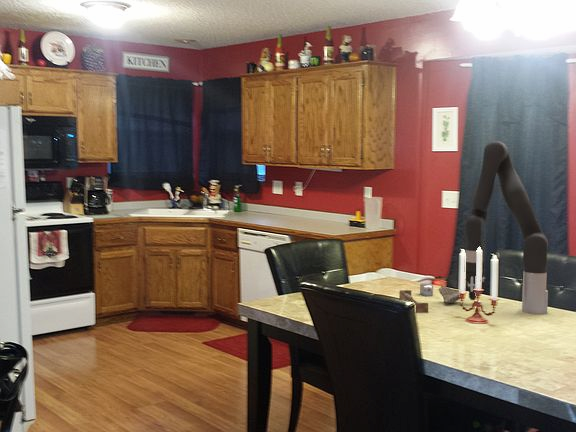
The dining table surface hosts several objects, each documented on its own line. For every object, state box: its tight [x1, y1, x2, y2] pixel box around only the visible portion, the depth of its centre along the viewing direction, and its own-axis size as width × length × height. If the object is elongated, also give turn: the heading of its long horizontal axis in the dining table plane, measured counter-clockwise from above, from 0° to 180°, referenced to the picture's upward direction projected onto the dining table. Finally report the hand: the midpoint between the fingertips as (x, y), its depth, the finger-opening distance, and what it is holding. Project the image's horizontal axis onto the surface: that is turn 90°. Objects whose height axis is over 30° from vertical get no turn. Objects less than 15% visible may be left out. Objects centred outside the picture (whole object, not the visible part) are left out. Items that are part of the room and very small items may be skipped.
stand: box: [398, 289, 429, 314], centre depth 291 cm, size 5×27×5 cm, turn 5°
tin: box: [419, 283, 434, 298], centre depth 313 cm, size 6×6×5 cm
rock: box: [437, 284, 461, 304], centre depth 296 cm, size 11×6×10 cm
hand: (472, 299), depth 293 cm, fingers closed
